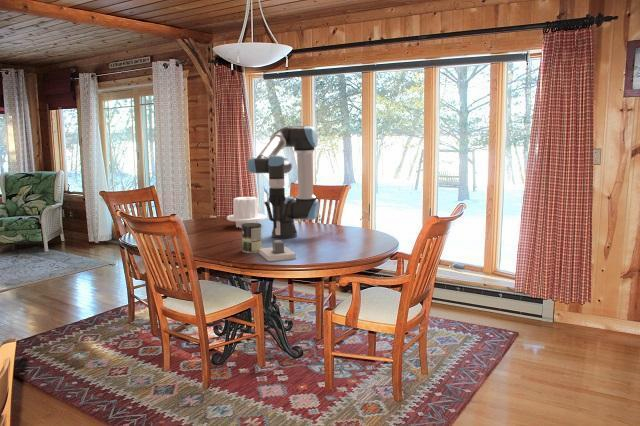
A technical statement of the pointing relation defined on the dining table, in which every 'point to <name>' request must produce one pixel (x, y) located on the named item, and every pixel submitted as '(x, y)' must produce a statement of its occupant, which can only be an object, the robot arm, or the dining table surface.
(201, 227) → the dining table surface
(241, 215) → the ribbed cylinder on disc
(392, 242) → the dining table surface
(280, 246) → the plug
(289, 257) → the socket plate
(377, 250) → the dining table surface
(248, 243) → the coffee can
